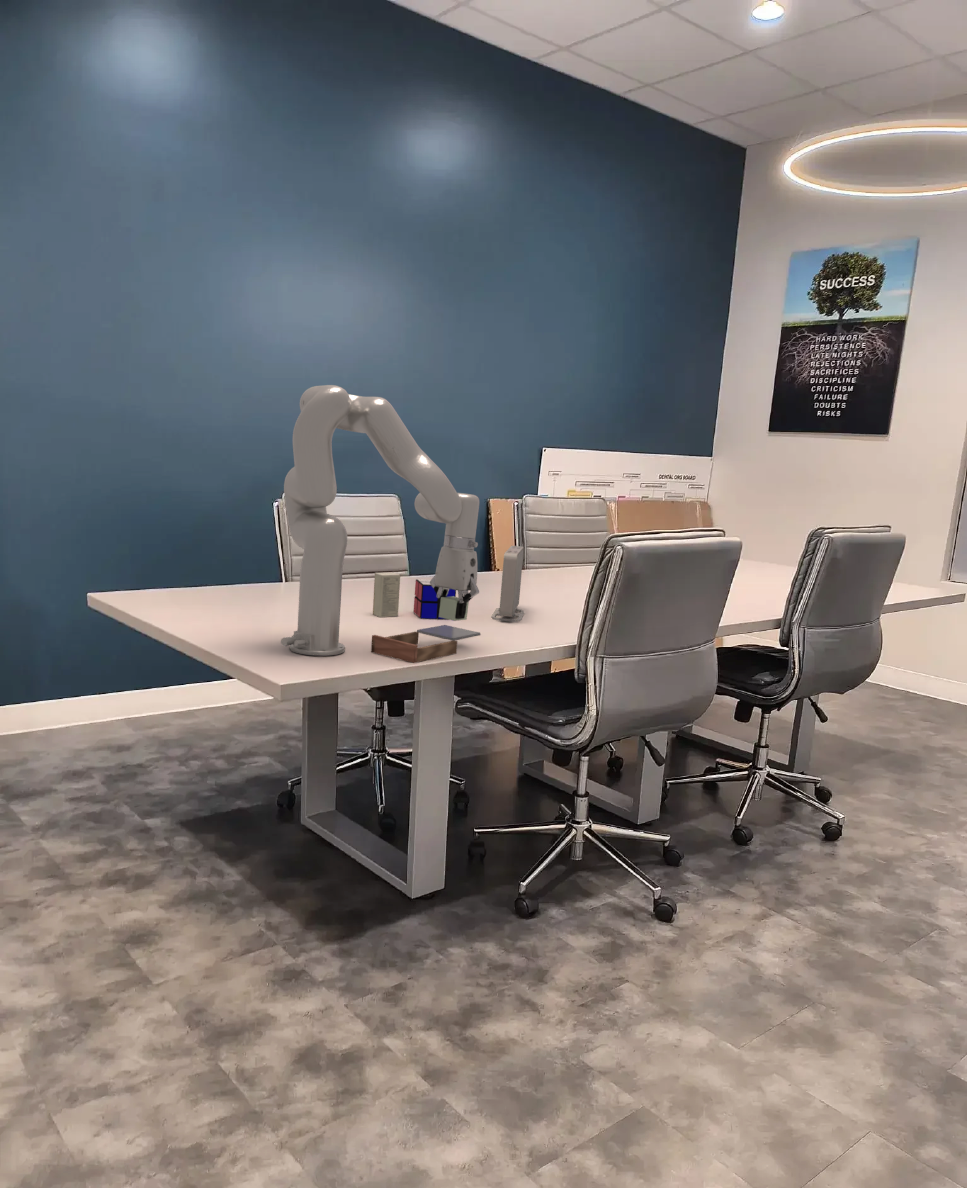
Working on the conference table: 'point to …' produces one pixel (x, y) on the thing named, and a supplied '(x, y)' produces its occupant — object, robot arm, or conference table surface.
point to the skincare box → (386, 594)
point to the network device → (510, 585)
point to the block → (450, 608)
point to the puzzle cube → (427, 600)
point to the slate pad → (448, 632)
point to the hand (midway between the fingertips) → (450, 615)
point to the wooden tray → (410, 647)
